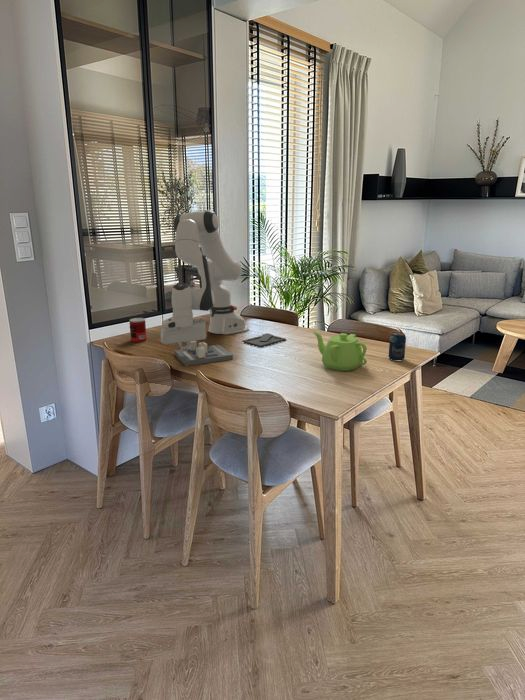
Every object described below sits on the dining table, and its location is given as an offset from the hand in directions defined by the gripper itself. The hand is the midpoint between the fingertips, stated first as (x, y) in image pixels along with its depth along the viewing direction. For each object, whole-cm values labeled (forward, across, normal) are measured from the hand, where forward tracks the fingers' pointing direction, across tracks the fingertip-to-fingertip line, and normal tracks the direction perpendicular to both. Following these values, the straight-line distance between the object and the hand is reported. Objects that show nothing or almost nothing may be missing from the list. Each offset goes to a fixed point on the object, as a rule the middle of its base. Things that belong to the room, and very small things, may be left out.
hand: (184, 351), depth 219 cm
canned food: (+4, +12, -41) cm, 43 cm away
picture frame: (+5, -45, -11) cm, 46 cm away
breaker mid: (+2, -9, 0) cm, 9 cm away
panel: (+4, -9, 0) cm, 9 cm away
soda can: (+4, -86, +41) cm, 95 cm away
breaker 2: (+2, -6, +6) cm, 8 cm away
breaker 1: (+2, -6, -6) cm, 8 cm away
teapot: (+4, -58, +37) cm, 69 cm away
